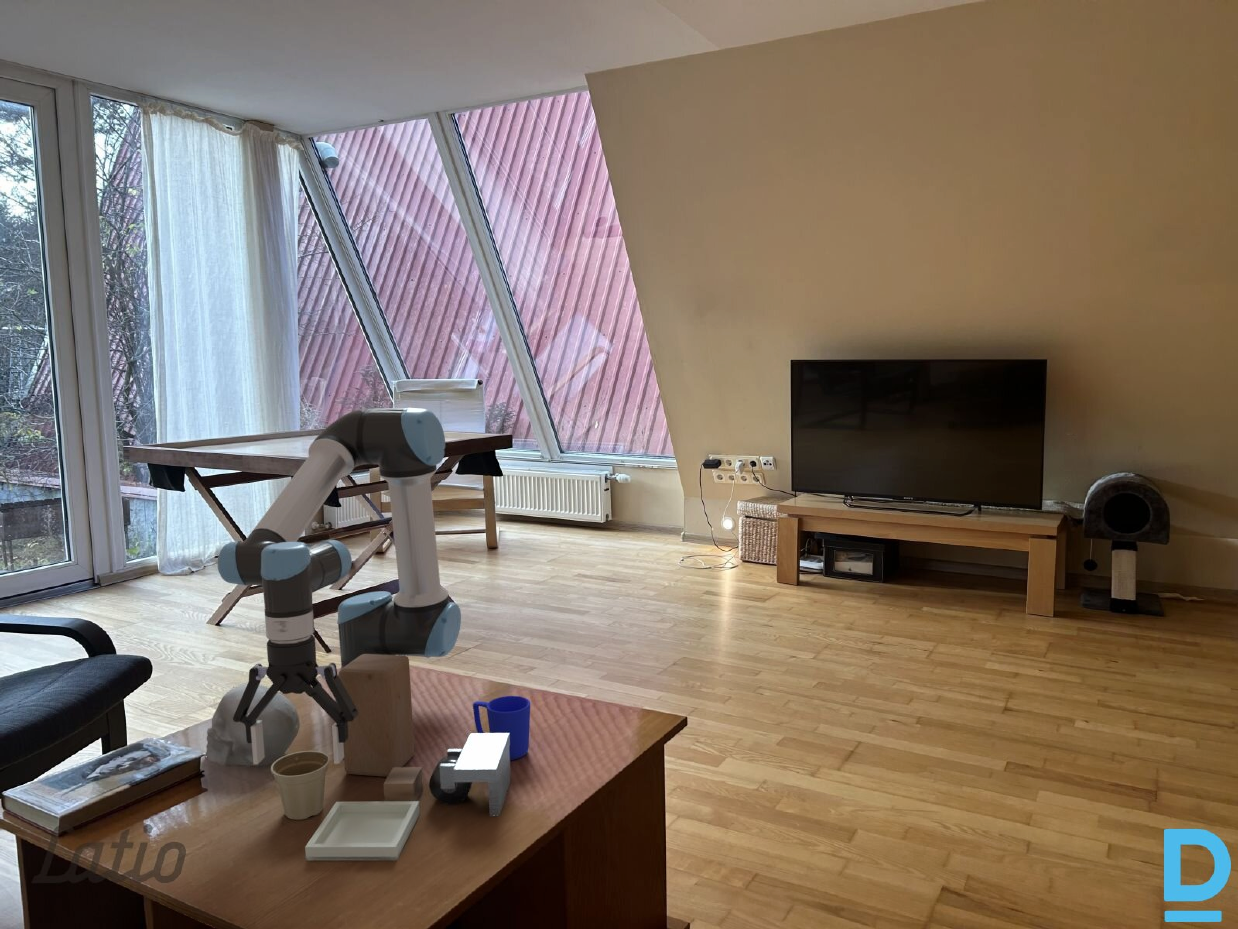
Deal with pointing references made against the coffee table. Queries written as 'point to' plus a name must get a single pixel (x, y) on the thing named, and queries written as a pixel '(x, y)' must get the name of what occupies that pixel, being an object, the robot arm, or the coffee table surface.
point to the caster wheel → (474, 770)
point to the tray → (363, 831)
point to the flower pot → (301, 782)
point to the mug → (508, 721)
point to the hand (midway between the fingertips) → (299, 761)
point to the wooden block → (378, 714)
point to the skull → (231, 736)
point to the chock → (403, 784)
